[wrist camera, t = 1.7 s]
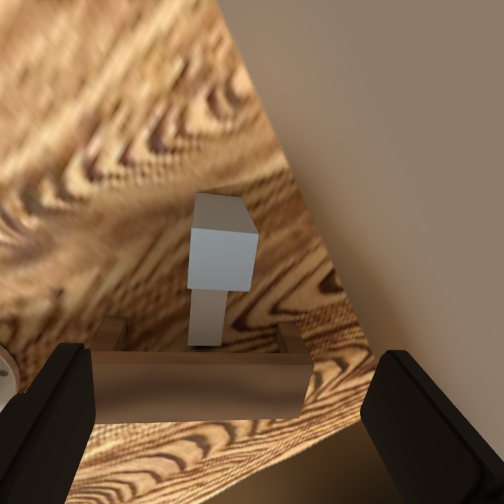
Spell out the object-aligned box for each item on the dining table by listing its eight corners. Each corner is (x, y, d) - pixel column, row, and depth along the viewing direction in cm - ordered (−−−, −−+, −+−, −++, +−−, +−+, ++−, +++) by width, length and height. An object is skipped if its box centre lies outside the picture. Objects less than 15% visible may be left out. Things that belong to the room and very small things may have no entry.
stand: (283, 369, 36) (299, 418, 30) (108, 369, 32) (86, 424, 26) (295, 322, 33) (314, 365, 27) (105, 316, 30) (80, 363, 24)
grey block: (196, 192, 26) (191, 228, 17) (241, 197, 27) (258, 234, 18) (185, 337, 32) (177, 422, 23) (222, 338, 33) (228, 420, 24)
